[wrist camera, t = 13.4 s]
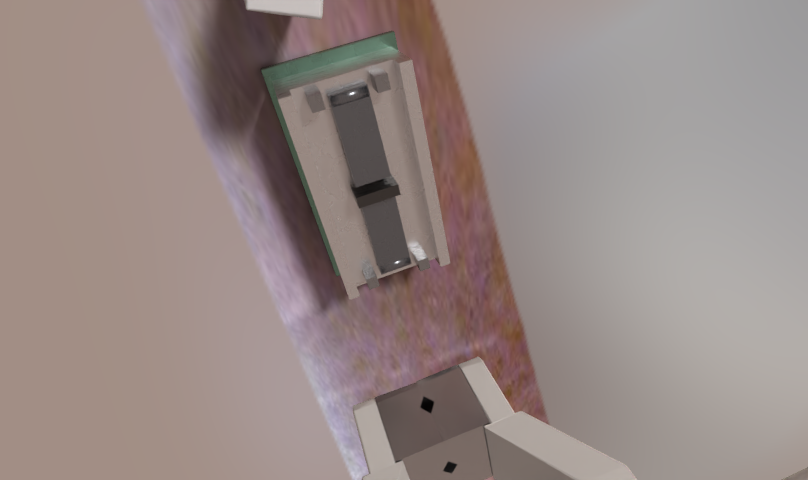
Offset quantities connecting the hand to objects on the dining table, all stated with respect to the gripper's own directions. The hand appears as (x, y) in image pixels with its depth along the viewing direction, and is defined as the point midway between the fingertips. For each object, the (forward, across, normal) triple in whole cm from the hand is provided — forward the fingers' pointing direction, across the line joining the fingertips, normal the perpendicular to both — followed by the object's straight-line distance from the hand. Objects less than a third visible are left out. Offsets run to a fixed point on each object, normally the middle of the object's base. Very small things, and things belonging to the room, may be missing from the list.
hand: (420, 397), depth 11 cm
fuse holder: (+34, -4, +10) cm, 36 cm away
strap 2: (+29, -4, +15) cm, 33 cm away
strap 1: (+29, -4, +5) cm, 30 cm away
